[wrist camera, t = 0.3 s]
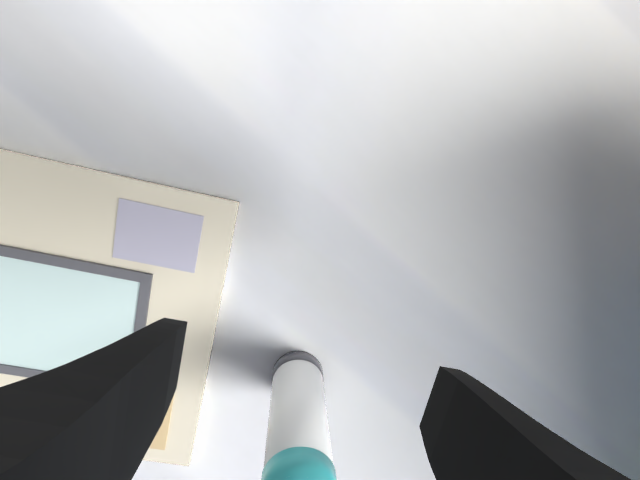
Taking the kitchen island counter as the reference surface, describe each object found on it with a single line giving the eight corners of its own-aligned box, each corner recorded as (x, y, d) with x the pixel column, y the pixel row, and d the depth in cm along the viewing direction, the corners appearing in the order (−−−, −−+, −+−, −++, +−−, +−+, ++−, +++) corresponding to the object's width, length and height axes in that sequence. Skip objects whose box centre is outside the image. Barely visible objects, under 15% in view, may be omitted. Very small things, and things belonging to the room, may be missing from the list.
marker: (316, 398, 21) (328, 541, 14) (267, 391, 21) (251, 532, 13) (328, 355, 21) (348, 479, 13) (278, 346, 20) (267, 468, 13)
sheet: (190, 460, 22) (187, 469, 21) (-66, 426, 20) (-77, 434, 20) (239, 201, 18) (237, 203, 18) (-68, 133, 17) (-81, 133, 16)
